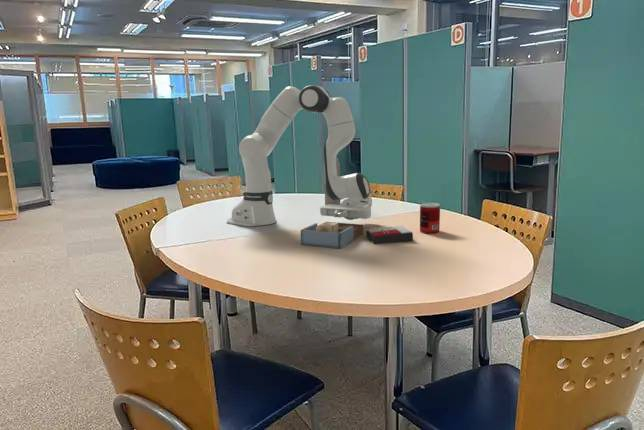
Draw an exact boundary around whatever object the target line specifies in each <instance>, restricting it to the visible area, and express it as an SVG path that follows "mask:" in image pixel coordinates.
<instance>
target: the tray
mask: <svg viewBox="0 0 644 430" xmlns="http://www.w3.org/2000/svg"><path fill="white" fill-rule="evenodd" d="M317 226H318V223H315V222H314V223H313V224H310V225H308V226H305V227H304V228H301V229H300V245H301V246H311V247H321V248H330V249H342V248H344V247H346V246H348V245H349V244H351V243H352V242H354V241H353V226H350V227H349V228H347V229H345V230H343V231H341V232H340V233H334V232H323V231H316V227H317Z"/></svg>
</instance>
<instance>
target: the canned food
mask: <svg viewBox="0 0 644 430" xmlns="http://www.w3.org/2000/svg"><path fill="white" fill-rule="evenodd" d="M419 206H420V207H419V232H420V233H423V234H428V235H429V234H432V235H433V234H438V233H439V232H440V226H441V225H440V221H441V204H440V203H438V202H422V203H420V205H419Z"/></svg>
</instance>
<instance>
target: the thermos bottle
mask: <svg viewBox="0 0 644 430" xmlns="http://www.w3.org/2000/svg"><path fill="white" fill-rule="evenodd" d="M336 168H337V176H338V177H340V176H341V163H340V162H339V158H338V157H337V156H336ZM323 173H324V174H323V175H324V179H323V180H324V181H323V182H324V186H325V182H326V176H325V162H324V163H323ZM330 204H333V205H341V200H338V201H334V200H332V199H330V198H329V197H328V196H327V195H326V191H325V190H324V206H325V205H330Z"/></svg>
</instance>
